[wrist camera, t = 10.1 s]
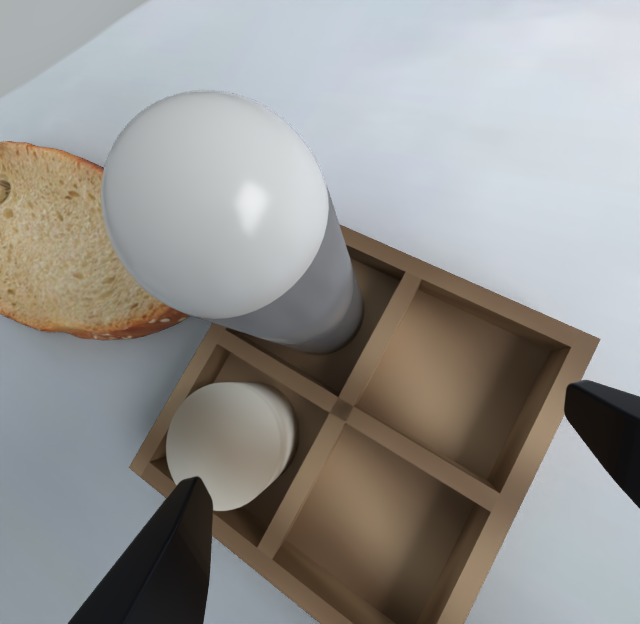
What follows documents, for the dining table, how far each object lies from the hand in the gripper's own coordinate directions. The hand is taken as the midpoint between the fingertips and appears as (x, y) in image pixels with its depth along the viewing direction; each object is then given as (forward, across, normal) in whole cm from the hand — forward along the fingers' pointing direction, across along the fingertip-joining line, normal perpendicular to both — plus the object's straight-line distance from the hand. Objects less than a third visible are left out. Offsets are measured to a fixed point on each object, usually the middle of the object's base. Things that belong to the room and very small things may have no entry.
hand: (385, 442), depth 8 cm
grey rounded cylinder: (+11, +1, +1) cm, 11 cm away
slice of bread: (+20, +15, -5) cm, 25 cm away
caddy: (+8, 0, +6) cm, 10 cm away
